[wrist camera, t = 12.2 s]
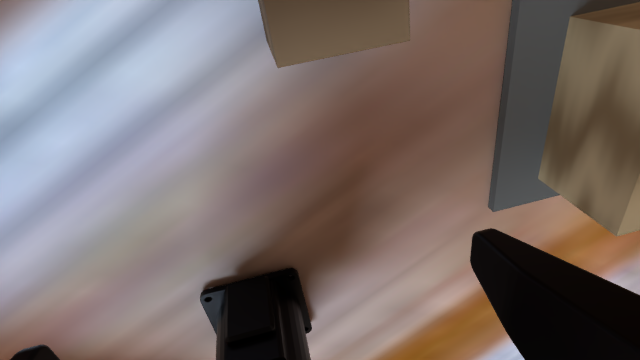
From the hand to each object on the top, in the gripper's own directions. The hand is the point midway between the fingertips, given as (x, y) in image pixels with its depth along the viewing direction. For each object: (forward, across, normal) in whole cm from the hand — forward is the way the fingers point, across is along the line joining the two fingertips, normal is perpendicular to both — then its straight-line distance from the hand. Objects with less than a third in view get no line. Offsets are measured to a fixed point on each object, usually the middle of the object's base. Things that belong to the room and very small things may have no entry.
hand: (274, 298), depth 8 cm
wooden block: (+12, -19, +4) cm, 23 cm away
